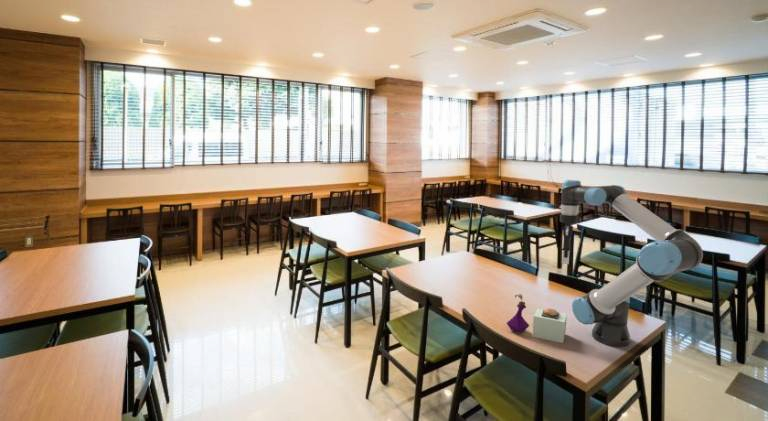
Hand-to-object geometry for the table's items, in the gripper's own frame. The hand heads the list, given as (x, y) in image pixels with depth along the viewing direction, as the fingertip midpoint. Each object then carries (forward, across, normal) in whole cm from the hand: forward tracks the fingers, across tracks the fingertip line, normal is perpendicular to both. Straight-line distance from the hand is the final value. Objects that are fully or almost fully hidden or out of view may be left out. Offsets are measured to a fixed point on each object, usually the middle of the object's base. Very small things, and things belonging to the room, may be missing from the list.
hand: (565, 263), depth 187 cm
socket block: (+32, +10, -4) cm, 34 cm away
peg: (+31, +10, -4) cm, 32 cm away
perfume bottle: (+33, +12, -18) cm, 39 cm away
